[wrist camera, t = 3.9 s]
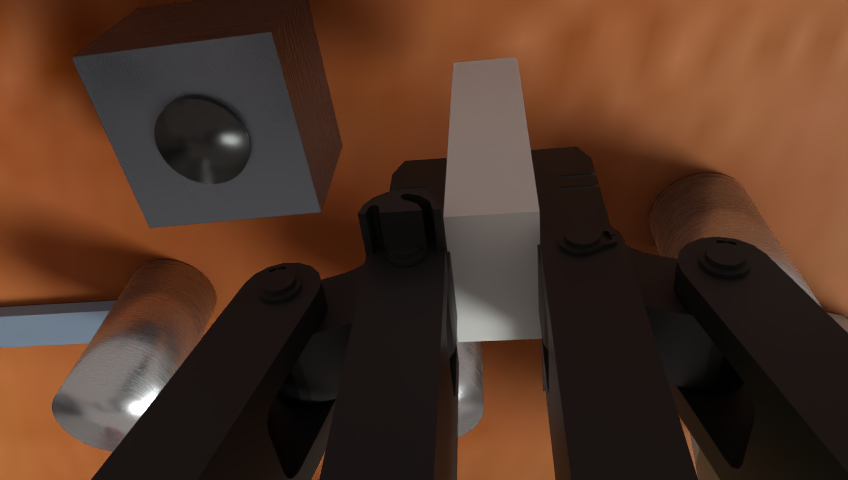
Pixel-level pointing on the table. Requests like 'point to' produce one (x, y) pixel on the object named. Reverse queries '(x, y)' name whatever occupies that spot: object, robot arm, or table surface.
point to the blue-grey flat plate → (51, 323)
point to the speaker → (216, 109)
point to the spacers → (196, 299)
